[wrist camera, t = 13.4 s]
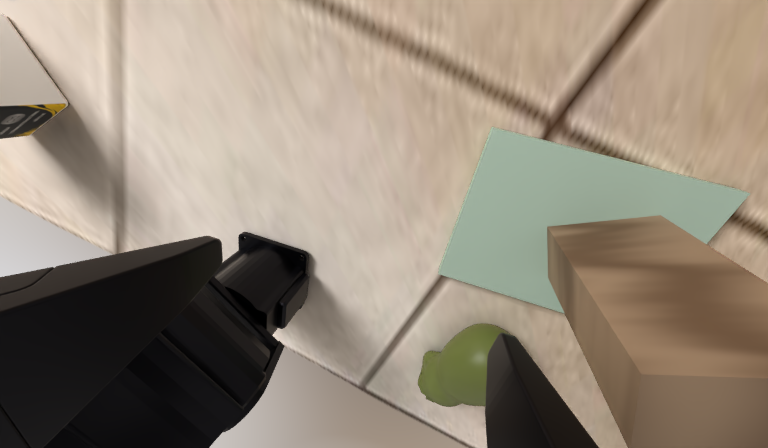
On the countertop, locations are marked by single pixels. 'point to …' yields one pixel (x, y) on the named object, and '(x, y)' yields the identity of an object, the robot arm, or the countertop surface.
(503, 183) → the mat
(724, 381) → the block
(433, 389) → the pear
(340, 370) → the countertop surface
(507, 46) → the countertop surface
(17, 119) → the medicine bottle
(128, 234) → the countertop surface
